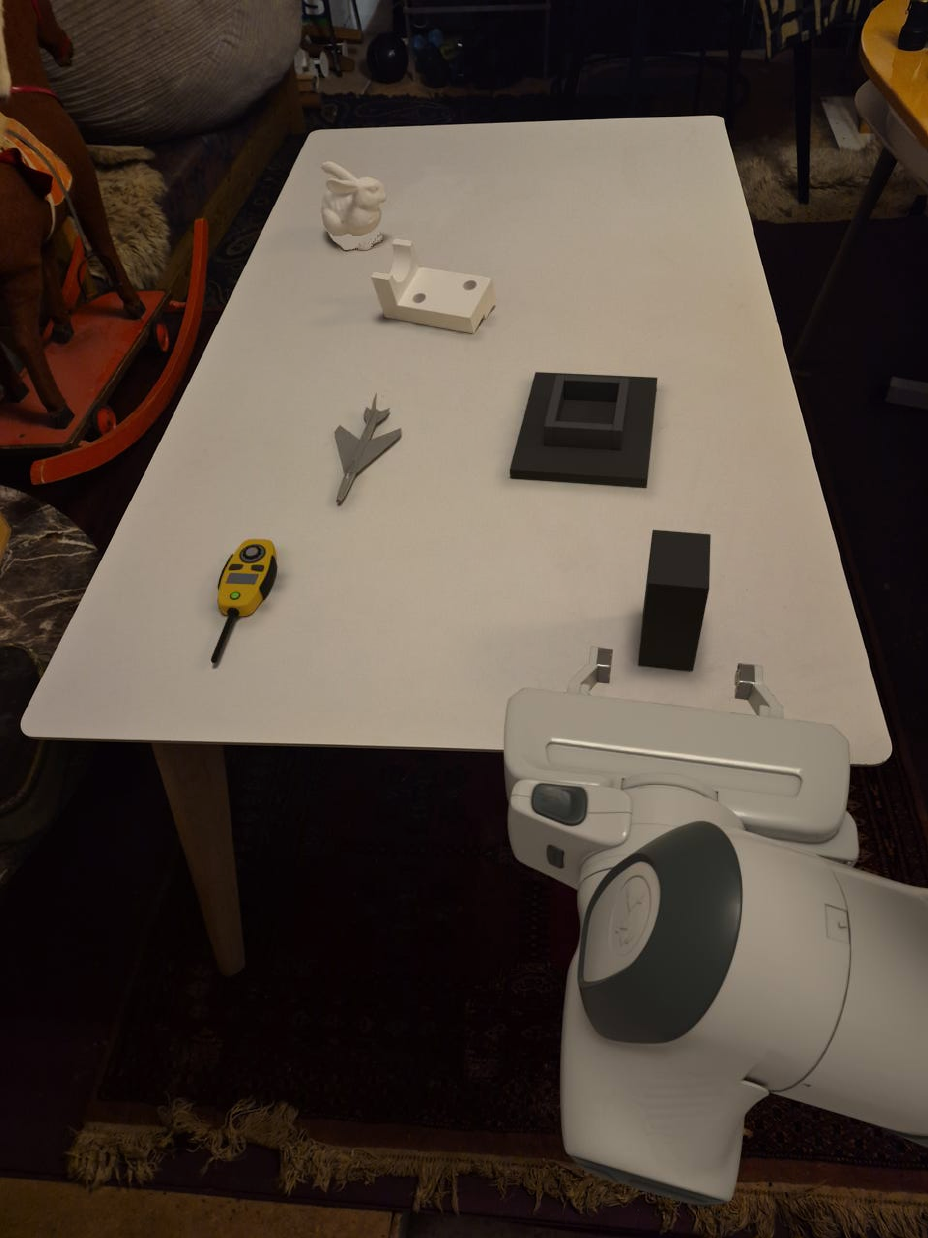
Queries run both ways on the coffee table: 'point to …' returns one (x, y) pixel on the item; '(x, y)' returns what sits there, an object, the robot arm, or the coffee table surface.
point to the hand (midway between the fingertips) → (673, 661)
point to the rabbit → (351, 203)
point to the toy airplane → (361, 446)
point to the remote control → (245, 583)
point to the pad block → (674, 599)
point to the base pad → (586, 429)
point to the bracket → (432, 293)
